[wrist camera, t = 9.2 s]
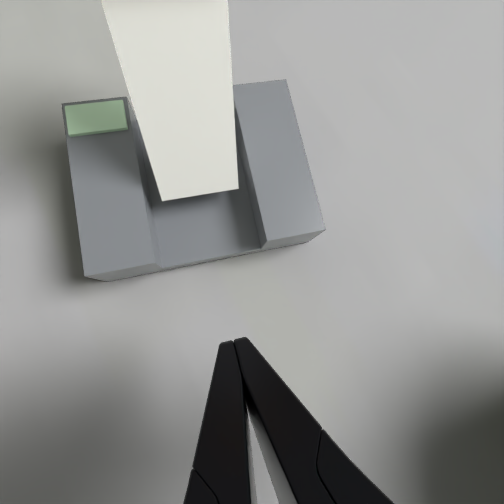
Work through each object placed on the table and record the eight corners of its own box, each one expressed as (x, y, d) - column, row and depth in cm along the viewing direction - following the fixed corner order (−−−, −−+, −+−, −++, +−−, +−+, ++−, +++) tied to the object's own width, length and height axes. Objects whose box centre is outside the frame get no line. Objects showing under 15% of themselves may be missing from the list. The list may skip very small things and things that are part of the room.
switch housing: (308, 241, 18) (327, 228, 15) (107, 281, 17) (82, 276, 14) (275, 112, 20) (286, 76, 17) (86, 136, 18) (59, 100, 15)
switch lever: (247, 191, 16) (237, -140, 8) (154, 207, 15) (37, -141, 7) (236, 163, 17) (218, -128, 9) (152, 176, 17) (58, -129, 9)
